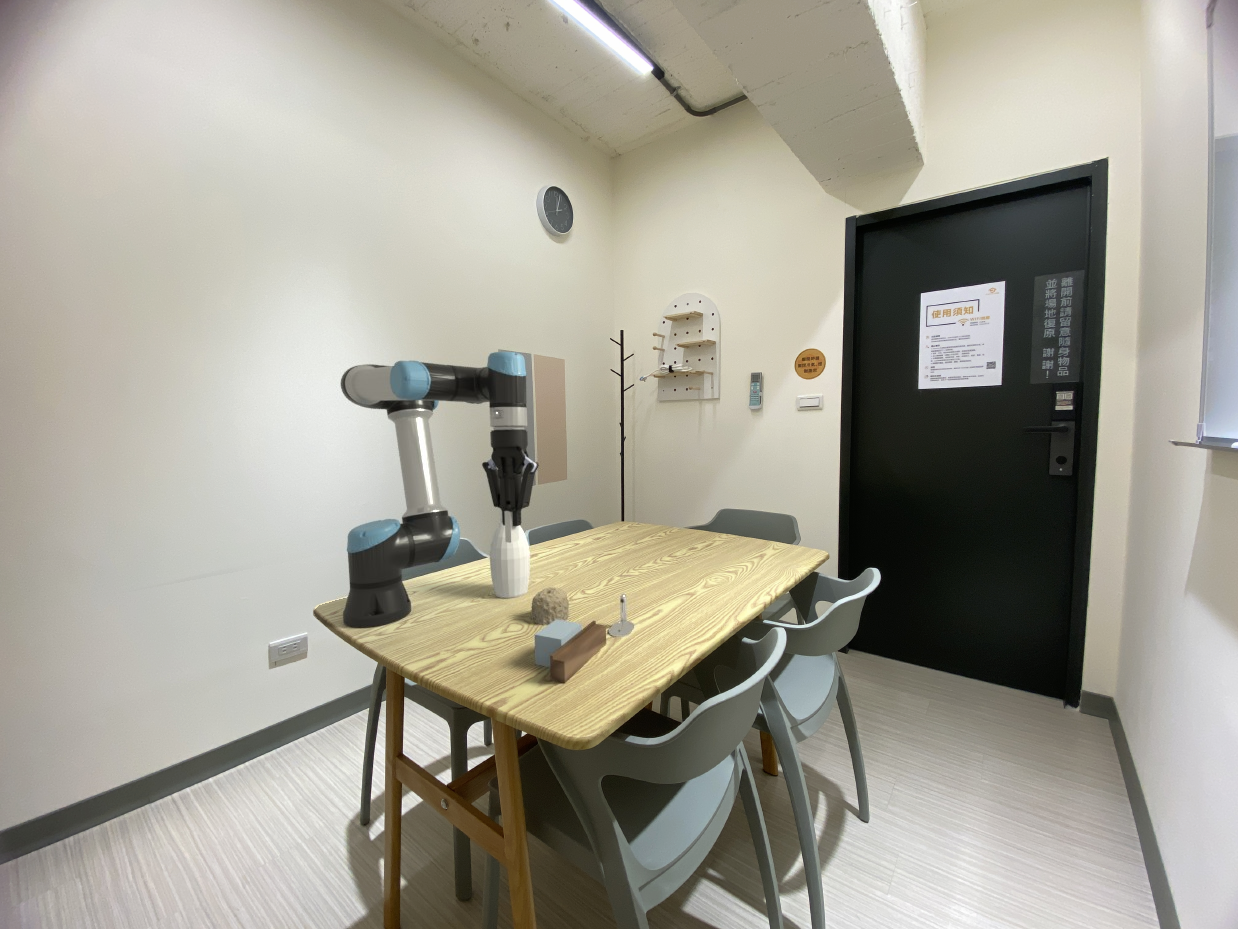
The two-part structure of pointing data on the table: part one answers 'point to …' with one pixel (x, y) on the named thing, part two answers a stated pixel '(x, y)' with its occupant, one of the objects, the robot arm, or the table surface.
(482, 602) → the table surface
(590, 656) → the brown wooden bar
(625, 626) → the metal post stand
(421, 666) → the table surface
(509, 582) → the bottle
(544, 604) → the sponge
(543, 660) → the block
